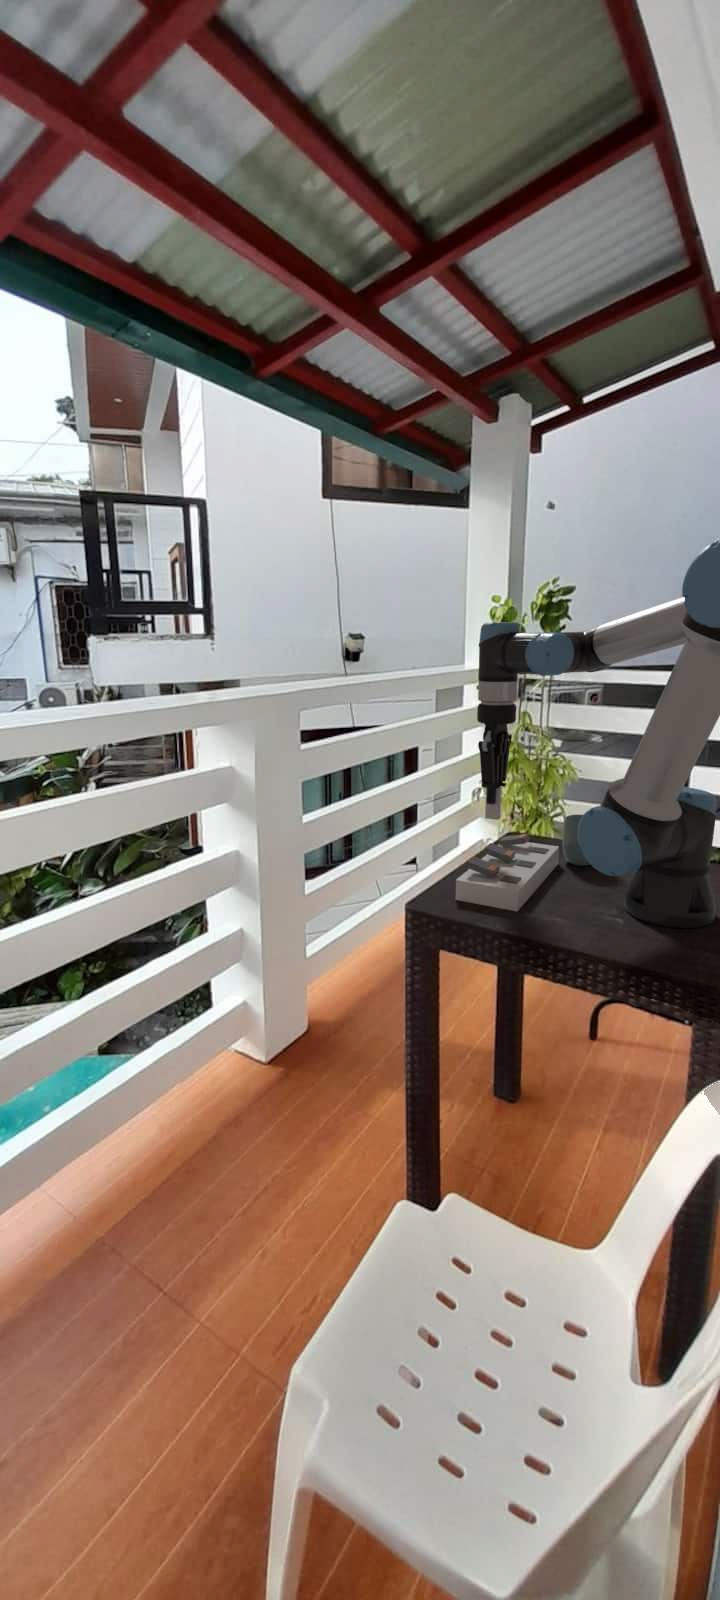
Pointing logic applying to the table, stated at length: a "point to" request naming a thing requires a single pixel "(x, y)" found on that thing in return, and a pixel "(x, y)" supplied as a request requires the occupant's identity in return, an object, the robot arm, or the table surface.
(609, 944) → the table surface
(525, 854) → the power strip
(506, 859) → the rocker
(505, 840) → the rocker
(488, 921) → the table surface
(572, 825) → the cup
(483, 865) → the rocker
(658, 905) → the robot arm
